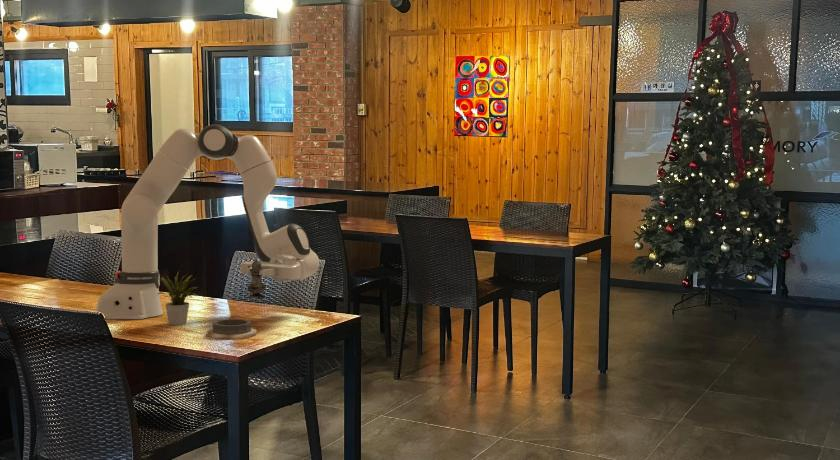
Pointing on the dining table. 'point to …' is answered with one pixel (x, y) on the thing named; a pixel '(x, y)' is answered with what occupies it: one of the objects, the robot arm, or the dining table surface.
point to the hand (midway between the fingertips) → (254, 272)
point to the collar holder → (231, 329)
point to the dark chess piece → (256, 282)
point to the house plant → (177, 300)
